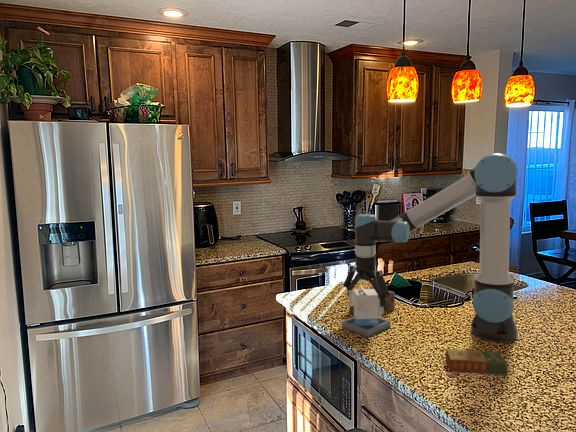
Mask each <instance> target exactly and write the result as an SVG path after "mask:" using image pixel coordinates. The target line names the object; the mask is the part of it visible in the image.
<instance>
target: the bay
mask: <svg viewBox="0 0 576 432" xmlns="http://www.w3.org/2000/svg"><path fill="white" fill-rule="evenodd" d="M369 289H374V288H373V286H370V288H369ZM388 291H389V293H390V296H389V297H386V298H385V306H384V310H388V311H392V312H394V311H395V300H396V299H395V297H396V296H395V292H394V291H392V290H388ZM381 295H382V294H381ZM378 298H379V296H378ZM348 307H349V309H348V311H349V312H351V313H352V314H354V306H351V307H350V306H348Z"/></svg>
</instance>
